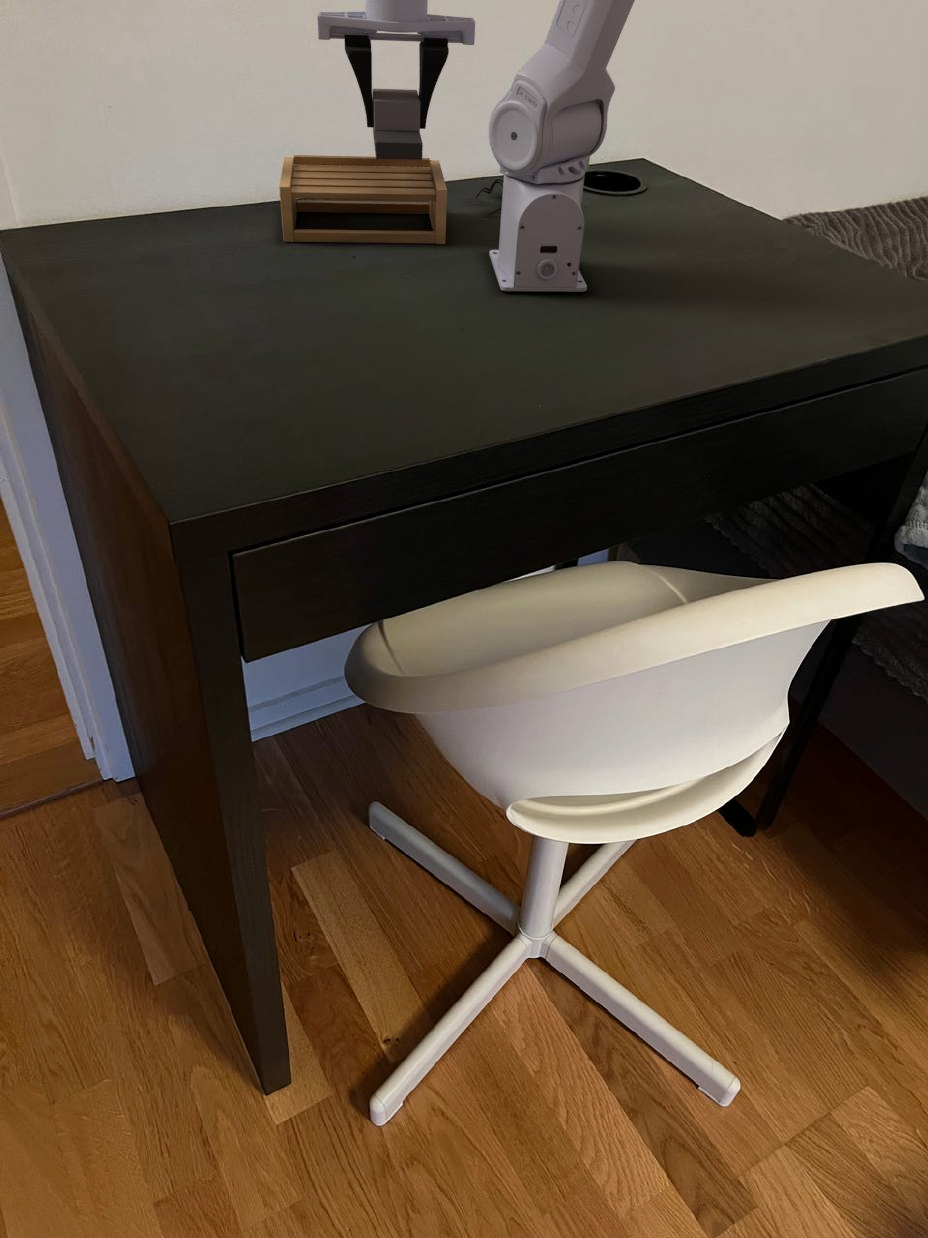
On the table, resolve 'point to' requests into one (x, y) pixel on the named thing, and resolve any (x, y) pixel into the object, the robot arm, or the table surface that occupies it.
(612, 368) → the table surface
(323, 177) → the shoe rack
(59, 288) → the table surface
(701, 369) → the table surface
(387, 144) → the grey step block
